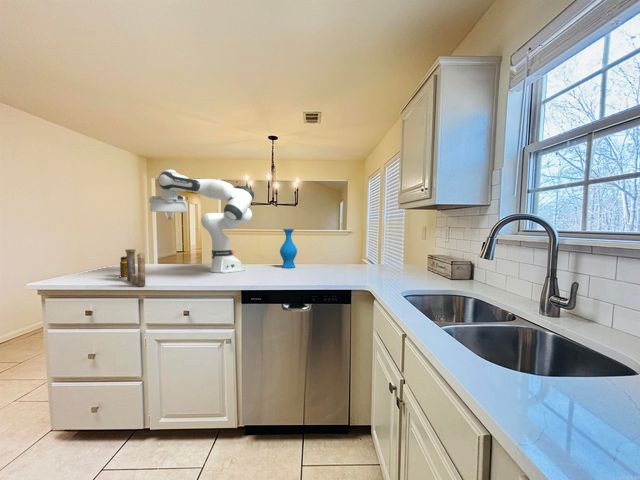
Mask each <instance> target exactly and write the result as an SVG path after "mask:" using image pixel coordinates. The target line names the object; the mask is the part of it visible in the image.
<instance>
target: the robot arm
mask: <svg viewBox="0 0 640 480" xmlns="http://www.w3.org/2000/svg"><path fill="white" fill-rule="evenodd" d="M157 182H158V185H159V187H160V188H161V189H160V195H159V196H155V195H154V196H153V195H152V196H150V197H148V198H149V203H150V207H149V209H150V210H149V211H150V212H151V213H152V212H154V213H155V212H156V213H164V215H165V217H166V220H172V221H173V217H174V215H175V213H188V203H187V201H186V197H185V196H184V195H181V194H178V192H187V191H189V192H193V193H196V194H199V195H201V196H204V197H207V198H209V199H213V200H221V201H222V200H223V201H224V200H225V201H226V202H227V203H226V204H225V205H224V207H223V212H207V213H204V214H203V215H202V216H201V218H200V224H201V226H202V227H203V228H204V229H205V230H206V231H207V232H208V233H209V236H210V237H211V246H212V250H211V266H210V270H209V271H210V272H211V273H221V274H226V273H227V274H228V273H235V272H243V271H244V272H245V271H246V268H245V267H244V266H243V265H242V261H241V260H240V259H239V258H238V257H236V256H234V254H235V252H236V251H235V250H231V246H230V245H231V243H230V242H231V241H230V240H231V239H230V238H229V236H228V235H226V234H224V231H223V230H233V229H236V228H238V226H240V225H243V224H245V223H247V222H249V221H251V219H252V218H253V212H252V210H251V209H250V208H249V207H250V205H251V204H252V202H253V201H254V199H255V193H254V191H253V190H252V189H251V188H250V187H248V186H246V185H245V186H244V185H236V186H234V185H233V184H231V183H229V182H227V181H224V180H220V179H215V178H189V177H188V176H186V175H184V174H181V173H179V172H177V171H176V170H175V169H172V168H171V169H170V168H169V169H167V168H166V169H163V170H161V171H160V174H159V176H158V177H157ZM168 213H171V216H169V215H168Z"/></svg>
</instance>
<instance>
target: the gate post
mask: <svg viewBox="0 0 640 480" xmlns="http://www.w3.org/2000/svg"><path fill="white" fill-rule="evenodd" d="M125 253H126V256H127V278H126V280H127V282H130V281H129V279H128V257H133V272H134V274H136V248H133V249H125Z"/></svg>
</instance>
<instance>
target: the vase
mask: <svg viewBox="0 0 640 480" xmlns="http://www.w3.org/2000/svg"><path fill="white" fill-rule="evenodd" d="M294 230H295V229H294V228H283V229H282V231H283V232H284V233H285V240H284V243H283V244H282V245H281V246H280V249H279V254H280V257H281V259H282V261H283V264H282V265H281V267H282V268H284V269H291V268H292V269H294V268H295V267H296V265H295V262H294V261H295V258H296V257H297V254H298V248H297V247H296V245H295V244H294V242H293V240H292V234H293V232H294Z"/></svg>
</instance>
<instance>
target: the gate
mask: <svg viewBox="0 0 640 480" xmlns="http://www.w3.org/2000/svg"><path fill="white" fill-rule="evenodd" d="M136 257H137V273H135V274H134V272H133V257H128V279H129V281H128V282H131V283H133V284H135V285H137V286H138V287H145V286H146V263H145V260H146V259H145V254H144V253H143V252H140V253H137V255H136Z"/></svg>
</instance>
